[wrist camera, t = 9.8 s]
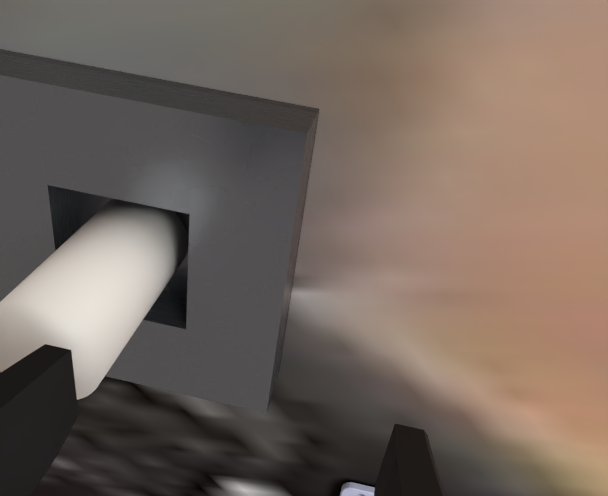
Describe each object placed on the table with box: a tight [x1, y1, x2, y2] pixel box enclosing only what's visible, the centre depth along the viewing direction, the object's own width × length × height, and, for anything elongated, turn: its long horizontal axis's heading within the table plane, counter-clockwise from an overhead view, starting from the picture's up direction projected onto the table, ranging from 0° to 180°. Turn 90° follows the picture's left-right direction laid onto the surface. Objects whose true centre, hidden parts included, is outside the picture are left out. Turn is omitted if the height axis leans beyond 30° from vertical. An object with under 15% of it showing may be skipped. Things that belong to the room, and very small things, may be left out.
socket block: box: [0, 49, 319, 413], centre depth 21 cm, size 12×12×2 cm
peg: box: [0, 198, 188, 400], centre depth 19 cm, size 4×4×7 cm
